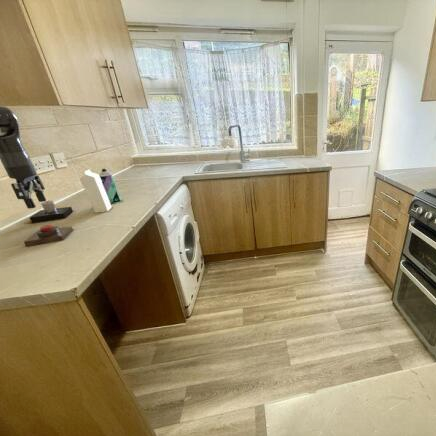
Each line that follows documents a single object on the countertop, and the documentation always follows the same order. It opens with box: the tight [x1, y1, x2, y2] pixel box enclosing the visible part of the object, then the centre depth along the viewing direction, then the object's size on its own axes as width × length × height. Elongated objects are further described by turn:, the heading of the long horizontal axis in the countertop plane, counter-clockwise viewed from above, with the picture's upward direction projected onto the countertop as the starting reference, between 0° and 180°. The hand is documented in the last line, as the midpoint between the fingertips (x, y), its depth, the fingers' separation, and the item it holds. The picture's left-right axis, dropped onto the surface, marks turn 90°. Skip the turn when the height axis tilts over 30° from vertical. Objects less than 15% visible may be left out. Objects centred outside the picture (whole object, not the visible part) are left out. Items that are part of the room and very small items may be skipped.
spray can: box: [98, 168, 122, 204], centre depth 138 cm, size 6×6×20 cm
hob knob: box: [40, 200, 57, 213], centre depth 122 cm, size 4×4×5 cm
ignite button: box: [39, 224, 53, 232], centre depth 101 cm, size 4×4×2 cm
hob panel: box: [29, 206, 74, 224], centre depth 124 cm, size 13×10×3 cm
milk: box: [80, 168, 112, 214], centre depth 126 cm, size 6×6×22 cm
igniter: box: [23, 225, 74, 248], centre depth 102 cm, size 12×10×4 cm
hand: (37, 204), depth 98 cm, fingers open, 8 cm apart
